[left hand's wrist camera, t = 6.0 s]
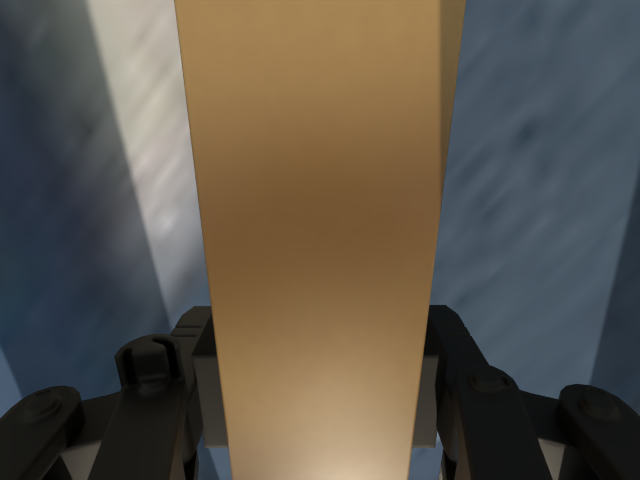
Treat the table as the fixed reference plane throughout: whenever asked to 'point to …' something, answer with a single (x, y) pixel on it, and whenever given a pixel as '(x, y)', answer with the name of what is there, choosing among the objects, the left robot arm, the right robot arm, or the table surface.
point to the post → (320, 220)
